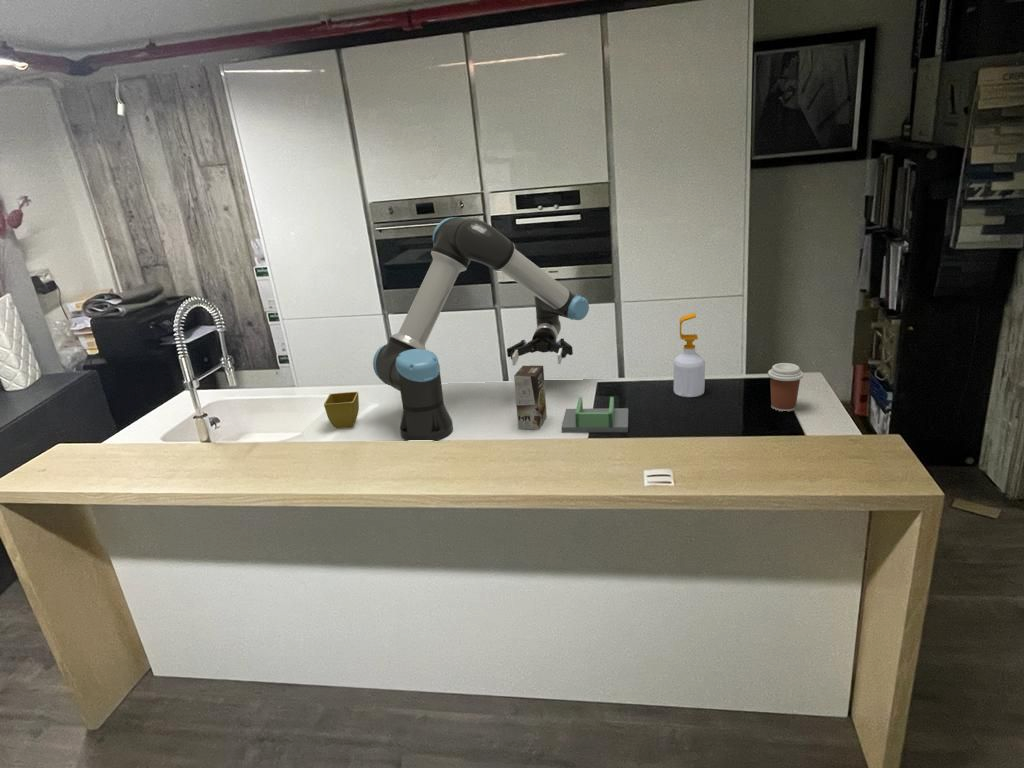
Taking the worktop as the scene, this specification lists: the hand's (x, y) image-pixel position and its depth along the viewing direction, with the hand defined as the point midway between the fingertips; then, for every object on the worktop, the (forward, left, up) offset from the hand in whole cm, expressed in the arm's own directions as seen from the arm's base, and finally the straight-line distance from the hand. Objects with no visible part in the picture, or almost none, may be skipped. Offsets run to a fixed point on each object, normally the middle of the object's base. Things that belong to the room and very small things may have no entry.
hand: (536, 360), depth 200 cm
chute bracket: (+18, -12, -15) cm, 26 cm away
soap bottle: (+45, +10, -15) cm, 48 cm away
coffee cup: (+70, -2, -15) cm, 71 cm away
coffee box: (0, -12, -15) cm, 19 cm away
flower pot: (-57, -13, -15) cm, 61 cm away
